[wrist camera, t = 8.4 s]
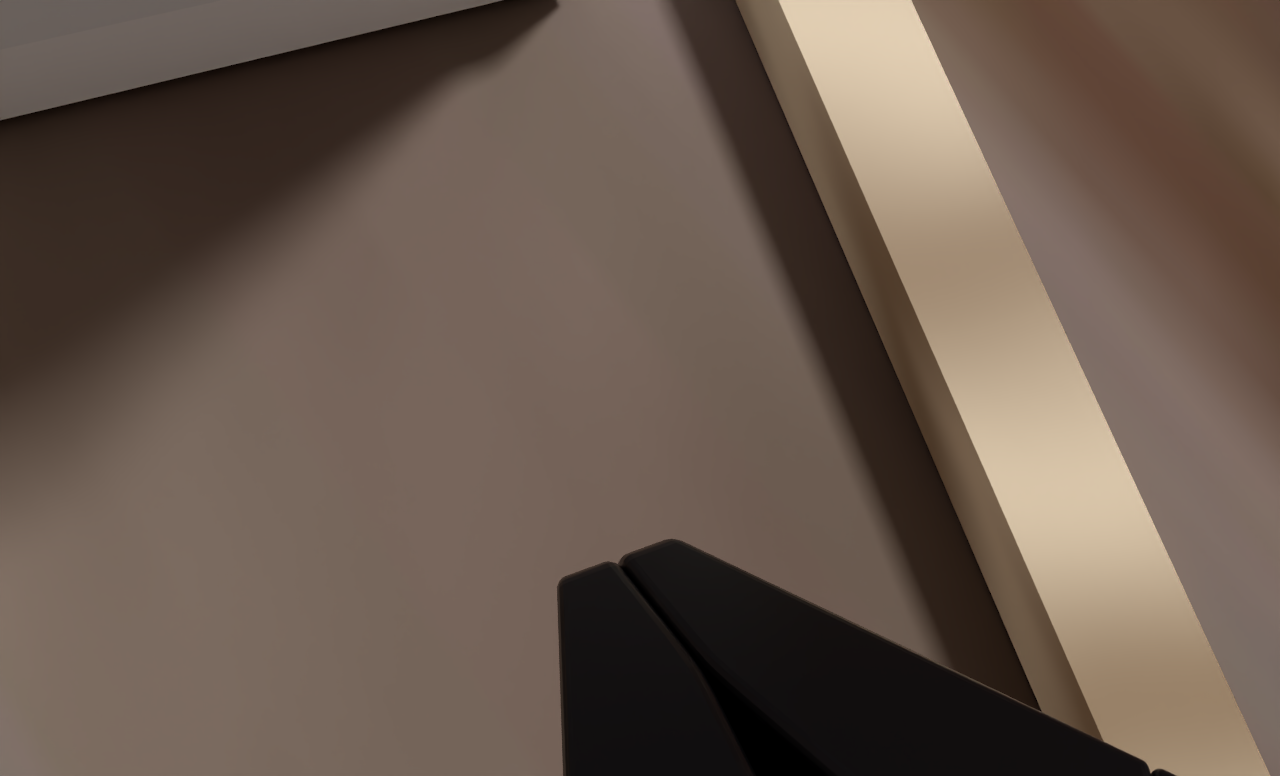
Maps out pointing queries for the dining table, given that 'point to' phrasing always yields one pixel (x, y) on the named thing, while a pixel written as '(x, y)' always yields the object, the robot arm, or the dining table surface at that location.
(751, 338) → the dining table surface
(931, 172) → the channel
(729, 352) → the dining table surface
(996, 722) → the robot arm
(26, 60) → the white l-shaped bracket
